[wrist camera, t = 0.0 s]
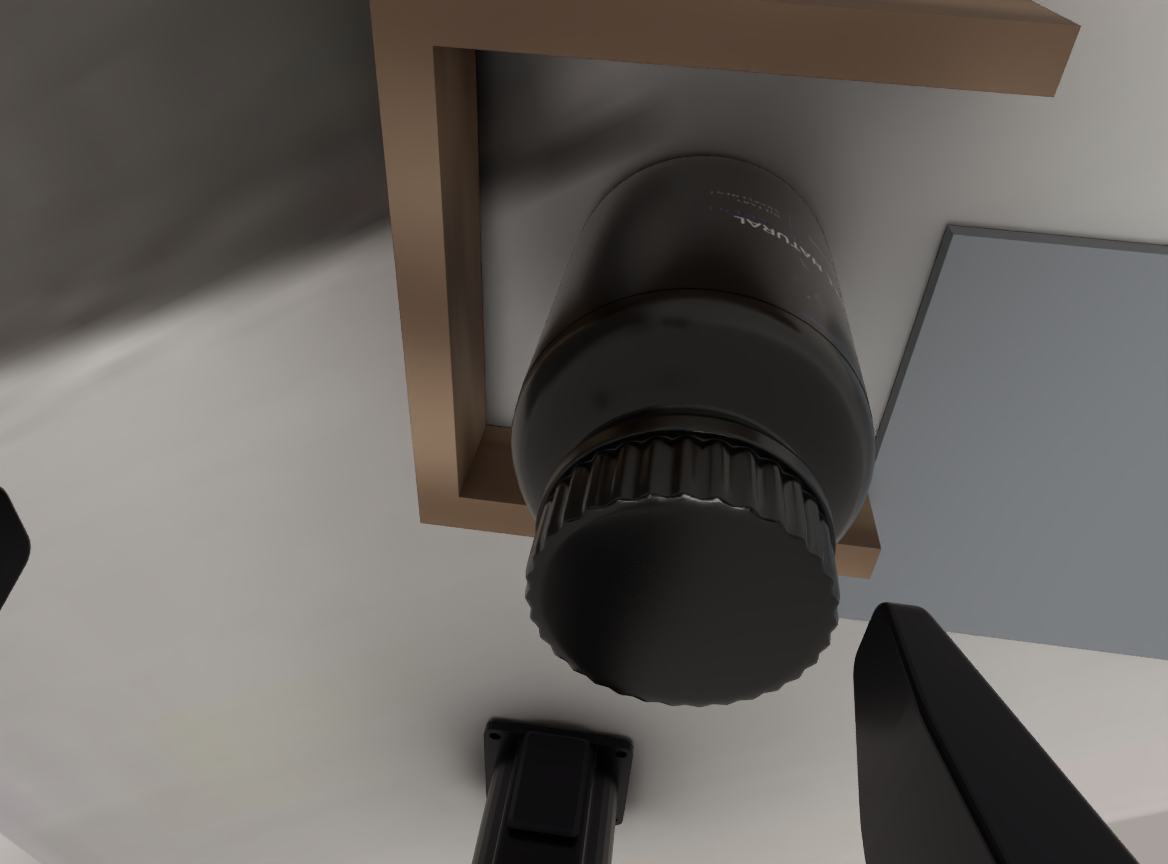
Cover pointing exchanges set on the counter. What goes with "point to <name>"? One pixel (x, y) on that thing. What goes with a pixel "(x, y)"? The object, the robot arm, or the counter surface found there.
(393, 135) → the walnut frame
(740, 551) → the supplement bottle
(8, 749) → the counter surface
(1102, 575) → the grey mat
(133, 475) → the counter surface
